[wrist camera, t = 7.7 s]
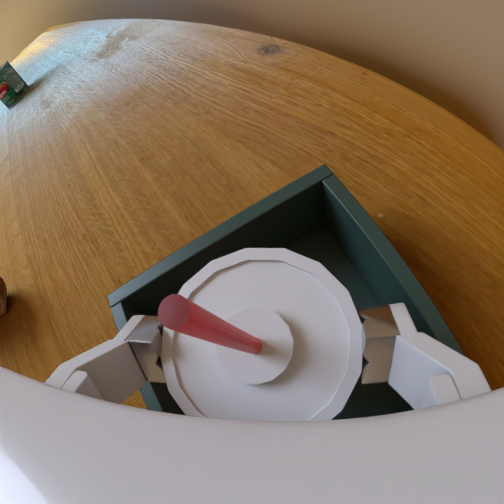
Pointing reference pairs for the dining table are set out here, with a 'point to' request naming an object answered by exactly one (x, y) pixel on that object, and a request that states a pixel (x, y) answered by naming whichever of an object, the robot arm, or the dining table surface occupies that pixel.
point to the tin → (2, 297)
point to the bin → (311, 246)
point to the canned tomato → (11, 85)
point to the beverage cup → (261, 339)
